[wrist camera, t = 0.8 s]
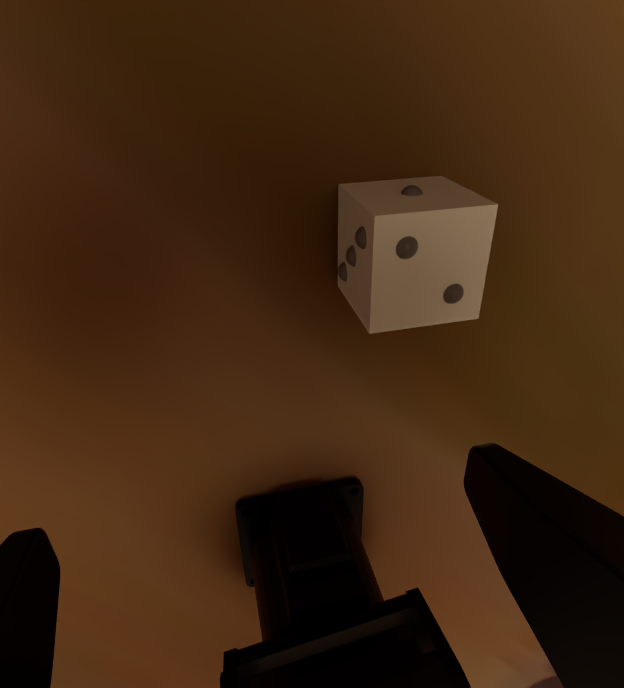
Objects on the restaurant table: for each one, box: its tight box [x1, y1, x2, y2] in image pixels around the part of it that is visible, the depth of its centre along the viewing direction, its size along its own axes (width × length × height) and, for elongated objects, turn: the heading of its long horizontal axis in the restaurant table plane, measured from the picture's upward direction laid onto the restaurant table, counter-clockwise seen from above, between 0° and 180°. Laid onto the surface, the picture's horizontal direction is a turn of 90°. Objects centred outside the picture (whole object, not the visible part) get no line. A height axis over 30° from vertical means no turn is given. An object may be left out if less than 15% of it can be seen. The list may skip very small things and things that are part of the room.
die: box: [338, 176, 498, 334], centre depth 18 cm, size 4×4×4 cm
